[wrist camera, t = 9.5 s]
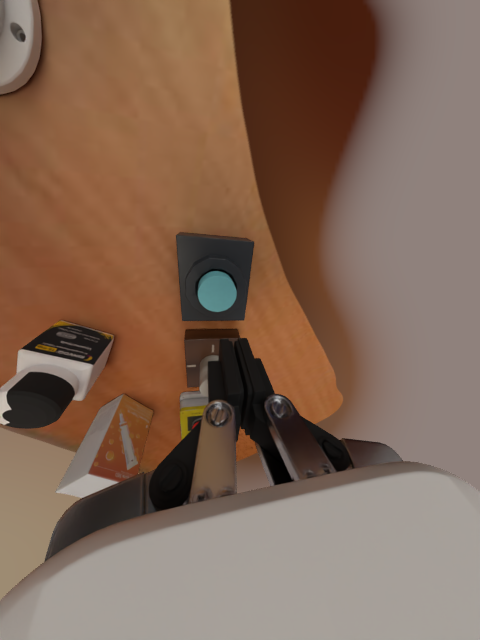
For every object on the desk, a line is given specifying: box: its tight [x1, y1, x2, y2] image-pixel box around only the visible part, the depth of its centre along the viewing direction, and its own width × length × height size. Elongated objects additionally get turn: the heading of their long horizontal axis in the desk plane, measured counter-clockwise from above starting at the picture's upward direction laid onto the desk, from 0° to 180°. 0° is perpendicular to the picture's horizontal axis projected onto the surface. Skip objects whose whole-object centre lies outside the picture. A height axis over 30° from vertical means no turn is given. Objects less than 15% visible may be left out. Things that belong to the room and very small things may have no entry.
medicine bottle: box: [0, 320, 114, 429], centre depth 23 cm, size 7×7×12 cm
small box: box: [56, 394, 154, 498], centre depth 32 cm, size 8×6×13 cm
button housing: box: [176, 232, 254, 321], centre depth 24 cm, size 11×9×6 cm
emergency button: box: [180, 391, 208, 440], centre depth 40 cm, size 9×4×15 cm
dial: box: [200, 355, 219, 397], centre depth 29 cm, size 4×4×5 cm
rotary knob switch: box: [184, 329, 240, 387], centre depth 32 cm, size 11×9×3 cm
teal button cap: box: [198, 271, 237, 312], centre depth 21 cm, size 4×4×2 cm
